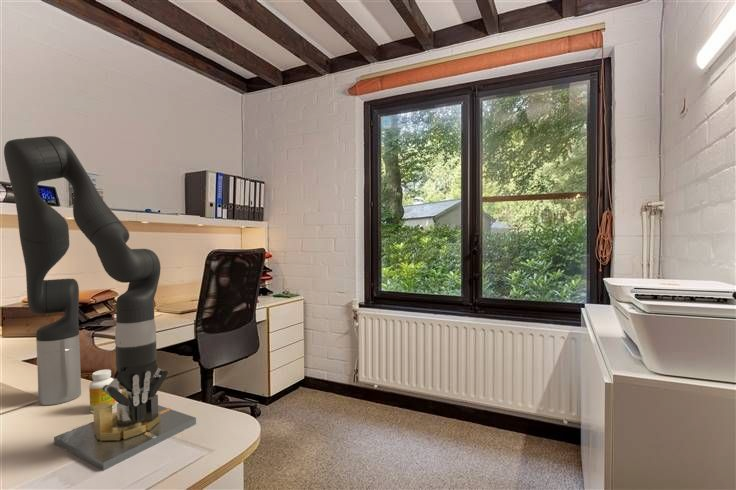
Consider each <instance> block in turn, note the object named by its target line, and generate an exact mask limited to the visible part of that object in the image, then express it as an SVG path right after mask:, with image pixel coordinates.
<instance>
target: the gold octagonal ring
mask: <svg viewBox="0 0 736 490" xmlns="http://www.w3.org/2000/svg"><path fill="white" fill-rule="evenodd" d="M121 394H123V395H124V396H125V397H126V398H127V394H126V392H125V388H122V389H121ZM158 405H159V395H158V394H157V393H156V394H155V396H154V397H150V398H149V399H148V400H147V402H146V416H145V417H144V420H142V421H141V422H140V423H136V424H133V425H130V426H127V427H122V428H113V425H114V424H115V423H117V411H115V412H113V409H112V405H111V404H108V403H103V404H100V405H97V406H94V407H93V411H94V413H93V422H94V433H95V435H96V437H97V439H98V440H99V439H100V440H121V439H122V438H123V439H127V438H130V437H133V436H136V435H139V434H142V433H145V432H146V431H149V430H150V429H151V428H152V427H154V426H155V425H156V424H157V423H158V422H159V421H160V413H159V412H158Z"/></svg>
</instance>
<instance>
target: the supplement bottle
mask: <svg viewBox="0 0 736 490" xmlns="http://www.w3.org/2000/svg"><path fill="white" fill-rule="evenodd" d="M111 376H112V370H111V369H109V368H107V369H99V370H97V371H94V372H93V373H92V376H91V378H92V381H91V382H90V383H89V386H88V388H89V411H90V413H92V414H94V411H93V407H94V406H97V405H100V404H103V403H108V404H111V405H112V410H113V409H114V408H115V407H116V400H114V399H113V398H112V397H111V396H109V395H108V394H107V393H106V392H105V391H103V387H104V386H105V385H109V384H110V383H111V382H112V381H113V380H114V377H111Z"/></svg>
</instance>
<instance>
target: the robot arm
mask: <svg viewBox="0 0 736 490" xmlns="http://www.w3.org/2000/svg"><path fill="white" fill-rule="evenodd" d="M3 156H4V161H5V162H4V163H5V167H6V170H7V174H8V178H9V181H10V186H11V189H12V193H13V197H14V201H15V207H16V213H17V214H16V215H17V223H18V234H19V240H20V245H21V251H22V256H23V262H24V267H25V268H24V269H25V278H26V280H25V281H26V297H27V305H28V308H29V310H30V311H31V313H33V314H35V315H47V314H49V315H50V314H58V313H59V314H60V313H64V315H63V316H62V317H61V318H59V319H58V320H56V321H54V322H51V323H49V324H46V325H43V326H41V327H40V328H38V329H37V330H36V333H35V339H36V341H35V342H36V362H37V363H36V364H37V365H36V366H37V393H38V394H37V395H38V404H39V405H43V406H51V405H58V404H62V403H63V404H64V403H66V402H69V401H72V400H74V399H77V398H79V397H80V396H81V395H82V379H81V378H82V377H81V376H82V374H81V348H80V347H81V346H80V345H81V344H80V327H79V325H80V324H79V304H80V301H79V300H80V286H79V283H78V281H77V280H76V279H75V278H57V279H45V278H46V276H47V275H48V274H49V271H50V270H52V268H53V267H54V266H55V265H57V263H58V262H60V261H61V259H62V258H63V257H65V255H66V254H67V252H68V250H69V248H70V232H69V231H70V229H69V223H68V222H67V220H66V219H65V218H64V216H63V215H62V214H60V213H59V212H58V211H57V210H56V209H55V208H53V207H52V206H51V205H50V204H48V203H47V202H46V201H45V200H44V199H43V198H42V197H41V195H40V194H39V188H38V184H39V183H40V182H45V181H52V180H56V179H57V180H58V179H63V178H64V179H66V181H67V182H68V183H69V184H70V185H71V187H72V191H73V201H72V202H73V204H72V214H73V218H74V223H76V226H77V228H78V229H79V230H80V231H81V232H82V234H83V235H84V236H85V237H86V239H87V240H88V241H89V242H90V243H91V245H93V246H94V247H95V250H96V253H97V256H98V258H99V261H100V262H101V266H102V267H103V269H104V271H105V272H106V274H107V275H108V276H109V277H110V278H111V279H113V280H115V281H116V282H119V283H128V287H127V289H126V291H125V292H124V293H122V294H120V295H119V296H118V297H117V298H116V303H115V312H116V313H115V315H116V316H115V318H116V321H115V322H116V324H115V325H116V326H115V333H114V335H115V337H114V344H115V368H116V370H115V373H114V376H113V379H114V380H113V381H112V382H111V383H110V384H109V385H105V386H104V387H103V391H105V392H106V393H107V394H108V395H109V396H111V397H112V398H113V399H114V400H115V402H116V403H117V404H118V403H119V404H122V405H124V406H129V418H130V420H132V421H133V422H135V423H137V422H140V421H142V420H144V417H145V416H146V402H147V400H148V399H149V398H150V397H154V396H155V394H157V393H158V391H159V390H160V387H161V386H162V384H163V383H164V381H165V379H166V378H167V376H168V375H169V372H168V370H165V369H162V368H160V367H159V364H158V362H157V357H158V356H157V355H158V352H157V327H156V321H155V296H156V293H157V289H158V284H159V282H160V281H159V280H160V277H161V268H162V267H161V263H160V257H158V255H157V253H155V251H153V250H151V249H148V248H130V247H129V245H127V242H128V241H129V240H130V232H129V230H128V229H127V227H126V226H125V225H124V223H123V222H122V221H121V220H120V219H119V218H118V217H117V216H116V214H115V213H114V212H113V211H112V210H111V208H110V207H109V205H107V203H106V202H105V200H104V199H103V197H102V196H101V194H100V193H99V192H98V189H97V188H96V186H95V185H94V183H93V181H92V179H91V178H90V176H89V174H88V172H87V171H86V170H85V168H84V166H83V165H82V163H81V161H80V160H79V158H78V157H77V155H76V153H75V152H74V150H73V149H72V148H71V146H70V145H69V144H68V143H67V142H66V141H65V140H63V138H60V137H58V136H54V135H48V136H37V137H36V136H35V137H25V138H16V139H10V140H8V141H7V142H5V145H4V148H3ZM119 385H120V386H121V387H123V388H122V389H125V392H126V394H127V398H126V397H125V396H124V395H123V394H122V392H121V391H120V388H121V387H120V386H119Z"/></svg>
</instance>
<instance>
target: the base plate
mask: <svg viewBox="0 0 736 490" xmlns="http://www.w3.org/2000/svg"><path fill="white" fill-rule="evenodd" d="M116 412H117V423H115V424H114V425H113V428H122V427H127V426H130V425H133V424H136V423H135V422H133V421H132V420H130V418H129V406H124V405H122V404H119V403H118V402H117V404H116ZM158 412H159V413H160V421H159V422H158V423H157V424H156V425H155V426H154V427H152V428H151V429H150V430H149V431H146V432H145V433H142V434H139V435H136V436H133V437H130V438H127V439H123V438H122V439H121V440H100V439H99V440H98V439H97V437H96V435H95V433H94V421H92V422H89V423H86V424H84V425H81V426H79V427H76V428H74V429H71V430H69V431H65V432H63V433H61V434H58V435H56V436H54V437H53V444H54V445H55V446H57V447H59V448H61V449H63V450H65V451H66V452H69V453H71V454H72V455H75V456H76V457H78V458H80V459H81V460H83V461H85V462H88V463H89V464H91V465H93V466H95V467H97V468H99V469H100V470H102V471H106V470H107V469H109V468H111V467H114V466H115V465H117V464H119V463H121V462H123V461H125V460H127V459H129V458H131V457H134V456H135V455H136V454H139V453H142V452H144V451H145V450H147V449H149V448H150V447H153V446H156V445H157V444H158V443H161V442H163V441H165V440H166V439H169V438H171V437H173V436H175V435H177V434H179V433H181V432H184V431H185V430H187V429H190V428H191V427H193V426H194V425H197V417H195V416H193V415H190V414H187V413H183V412H180V411H177V410H173V409H171V408H170V407H166V406H162V405H159V404H158ZM140 422H141V421H140ZM140 422H137V423H140Z"/></svg>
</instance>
